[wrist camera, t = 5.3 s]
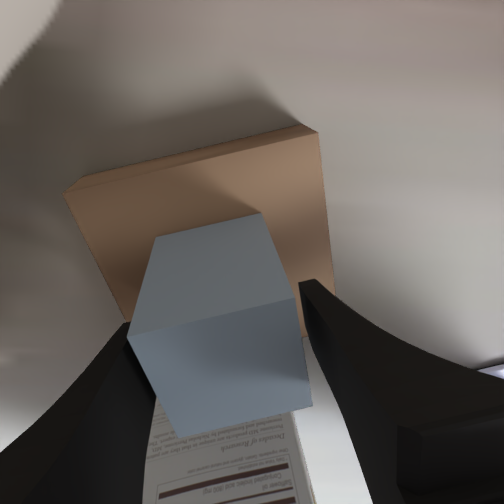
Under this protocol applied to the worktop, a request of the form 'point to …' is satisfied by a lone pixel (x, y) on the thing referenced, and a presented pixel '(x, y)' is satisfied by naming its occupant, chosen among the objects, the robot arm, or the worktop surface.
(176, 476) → the supplement box
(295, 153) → the tan flat square block
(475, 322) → the worktop surface
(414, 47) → the worktop surface
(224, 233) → the slate block
